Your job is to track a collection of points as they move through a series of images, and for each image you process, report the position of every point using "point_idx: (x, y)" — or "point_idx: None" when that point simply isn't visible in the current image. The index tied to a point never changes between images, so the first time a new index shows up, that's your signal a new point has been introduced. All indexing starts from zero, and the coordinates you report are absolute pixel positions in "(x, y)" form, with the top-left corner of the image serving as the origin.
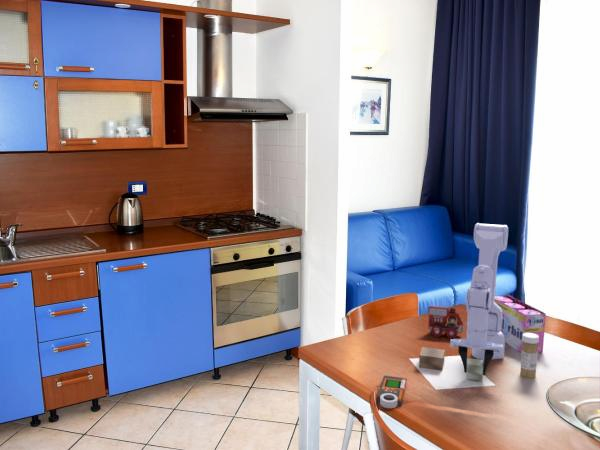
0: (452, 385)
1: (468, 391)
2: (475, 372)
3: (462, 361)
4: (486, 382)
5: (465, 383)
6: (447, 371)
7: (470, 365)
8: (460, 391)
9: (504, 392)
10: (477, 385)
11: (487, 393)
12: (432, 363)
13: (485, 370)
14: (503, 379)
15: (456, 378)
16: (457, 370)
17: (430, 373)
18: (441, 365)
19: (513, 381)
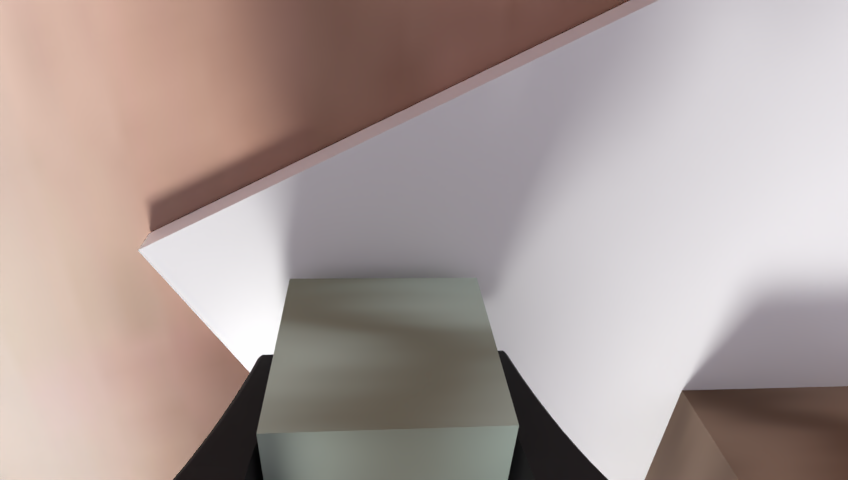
0: (650, 89)
1: (445, 46)
2: (375, 340)
3: (588, 461)
4: (248, 288)
5: (482, 194)
6: (635, 390)
7: (459, 413)
8: (546, 13)
9: (18, 156)
10: (341, 183)
11: (208, 62)
12: (811, 436)
13: (238, 397)
14: (117, 421)
15: (570, 282)
16: None
17: (820, 306)
18: (718, 432)
19: (18, 413)
